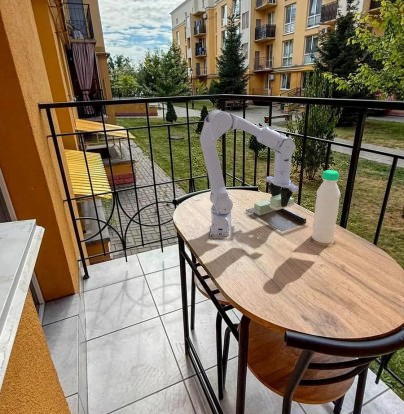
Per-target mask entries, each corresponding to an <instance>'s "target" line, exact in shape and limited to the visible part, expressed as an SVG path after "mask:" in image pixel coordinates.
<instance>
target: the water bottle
mask: <svg viewBox="0 0 404 414" xmlns="http://www.w3.org/2000/svg"><path fill="white" fill-rule="evenodd" d="M321 178H322V182H321V184H320V186H319V187H318V188H317V190H316V198H315V205H314V213H313V214H314V215H313V216H314V217H313V223H312V232H311V238H312V239H313V240H314V241H316V242H318V243H322V244H330V243H331V245H333V244H334V241H335V234H336V233H335V232H336V229H337V225H336V223H337V220H338V214H339V208H340V198H341V191H340V188H339V184H338V181H339V179H340V173H339V172H338V171H337V170H332V169H327V170H324V171H323V172H322V176H321Z"/></svg>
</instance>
